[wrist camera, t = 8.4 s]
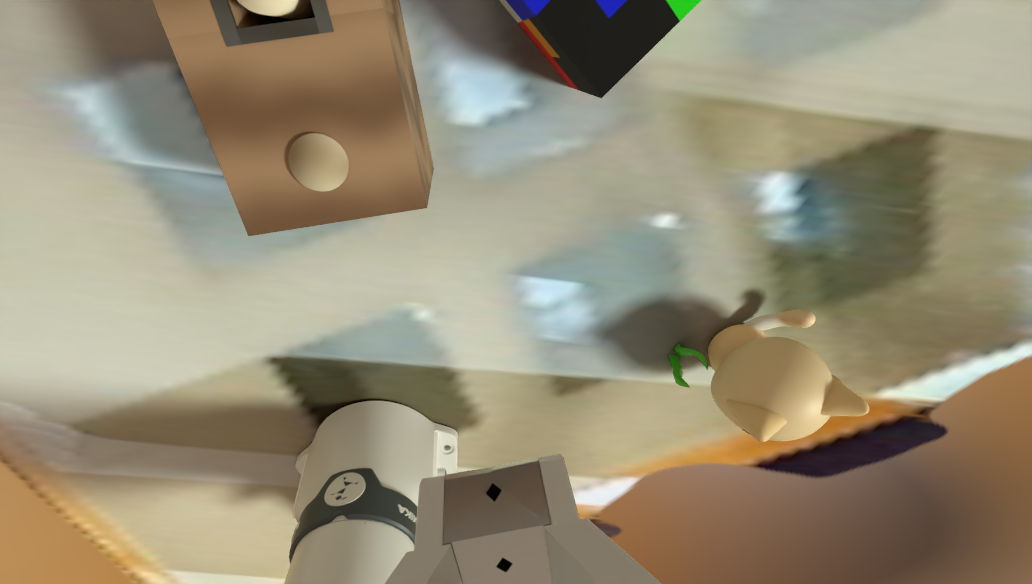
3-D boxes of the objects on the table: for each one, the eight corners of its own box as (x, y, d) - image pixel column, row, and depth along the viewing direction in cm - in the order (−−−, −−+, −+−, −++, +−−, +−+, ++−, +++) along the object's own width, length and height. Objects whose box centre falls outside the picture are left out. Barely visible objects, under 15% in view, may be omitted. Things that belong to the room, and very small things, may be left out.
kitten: (667, 394, 59) (730, 495, 45) (659, 325, 54) (726, 417, 41) (788, 361, 59) (885, 454, 45) (789, 290, 54) (899, 370, 41)
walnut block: (433, 168, 44) (426, 209, 33) (299, 189, 43) (246, 237, 32) (382, -79, 35) (350, -134, 24) (215, -56, 35) (107, -103, 24)
